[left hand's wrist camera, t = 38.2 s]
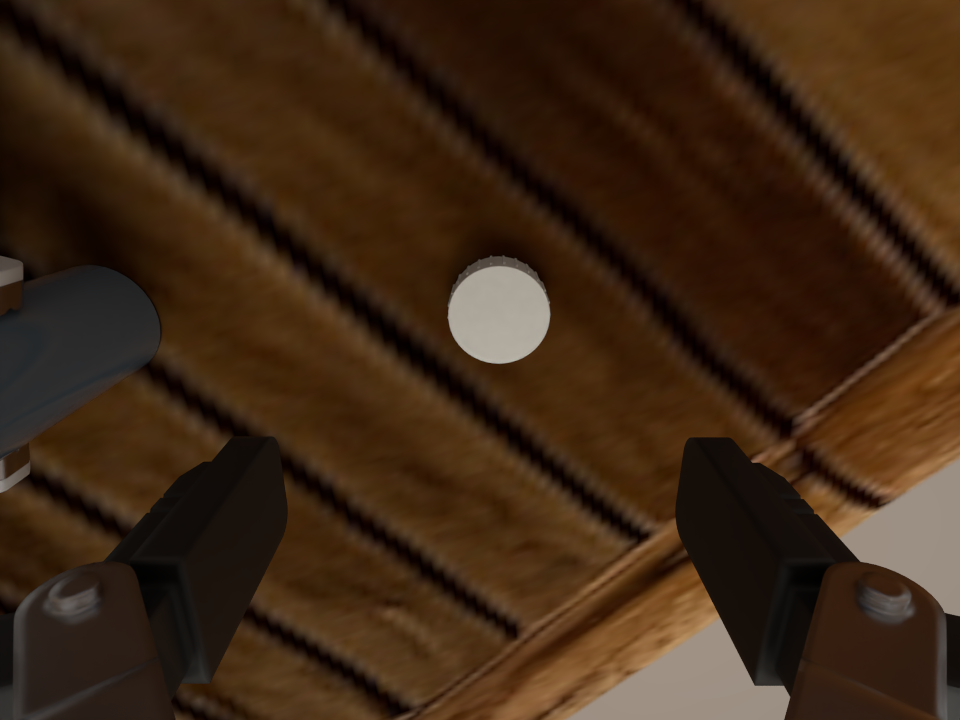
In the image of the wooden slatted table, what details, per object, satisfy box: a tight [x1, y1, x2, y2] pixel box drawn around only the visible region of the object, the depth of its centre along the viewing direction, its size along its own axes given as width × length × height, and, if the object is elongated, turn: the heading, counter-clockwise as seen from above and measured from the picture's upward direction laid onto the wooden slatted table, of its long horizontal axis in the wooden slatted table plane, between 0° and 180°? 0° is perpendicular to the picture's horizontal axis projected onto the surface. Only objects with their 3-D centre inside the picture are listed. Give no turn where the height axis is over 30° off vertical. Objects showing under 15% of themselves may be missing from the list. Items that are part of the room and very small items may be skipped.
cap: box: [448, 255, 551, 363], centre depth 23 cm, size 4×4×2 cm
